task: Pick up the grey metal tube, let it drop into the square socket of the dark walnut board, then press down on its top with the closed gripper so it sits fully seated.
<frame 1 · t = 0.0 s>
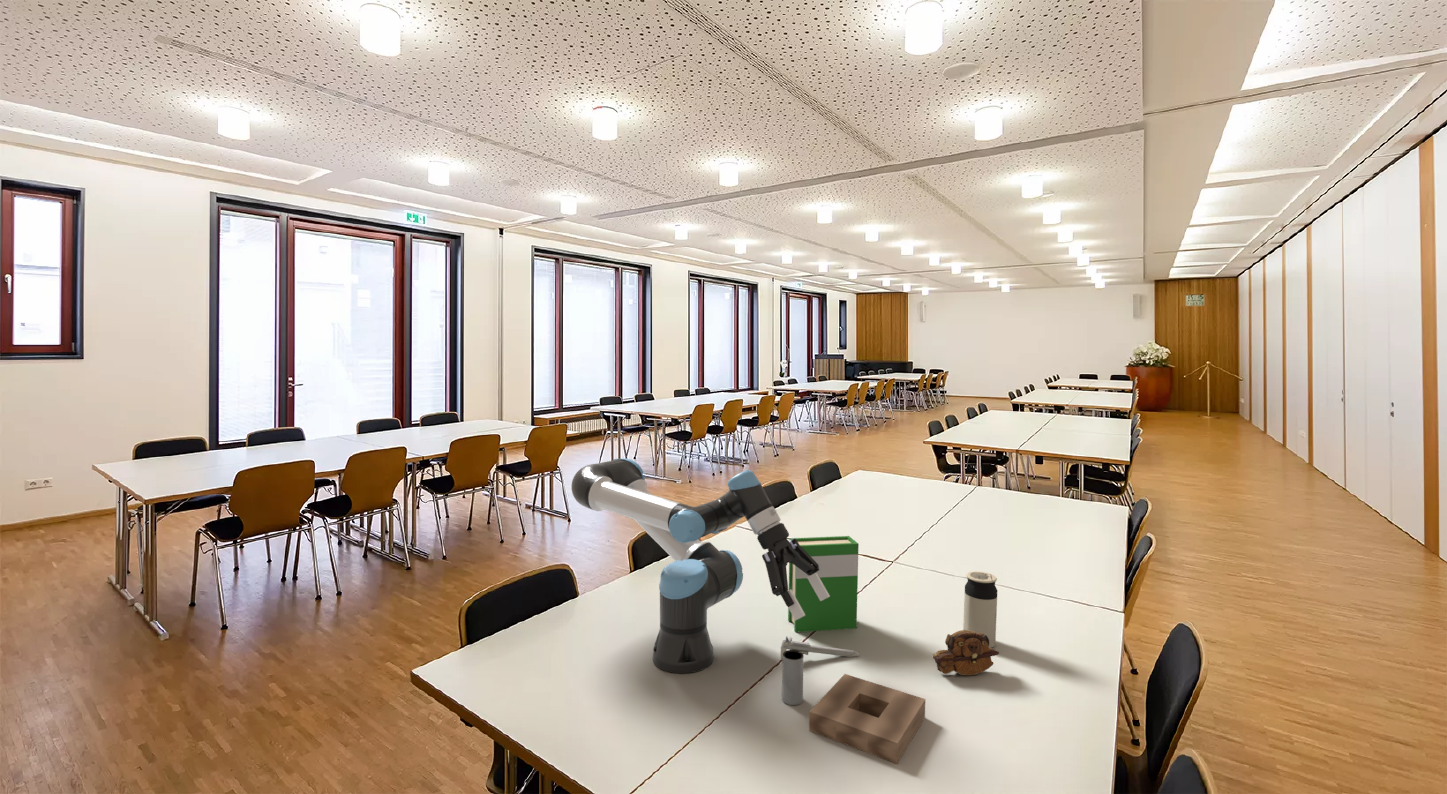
hand: (813, 608, 148), 15 cm above the table, tool tilted 35°, fingers open, 13 cm apart
socket board: (868, 723, 127), on the table
grey metal tube: (792, 700, 136), on the table
wooden carving: (966, 674, 148), on the table
caliper: (820, 659, 155), on the table
hardback book: (821, 625, 174), on the table
travel mug: (978, 643, 164), on the table
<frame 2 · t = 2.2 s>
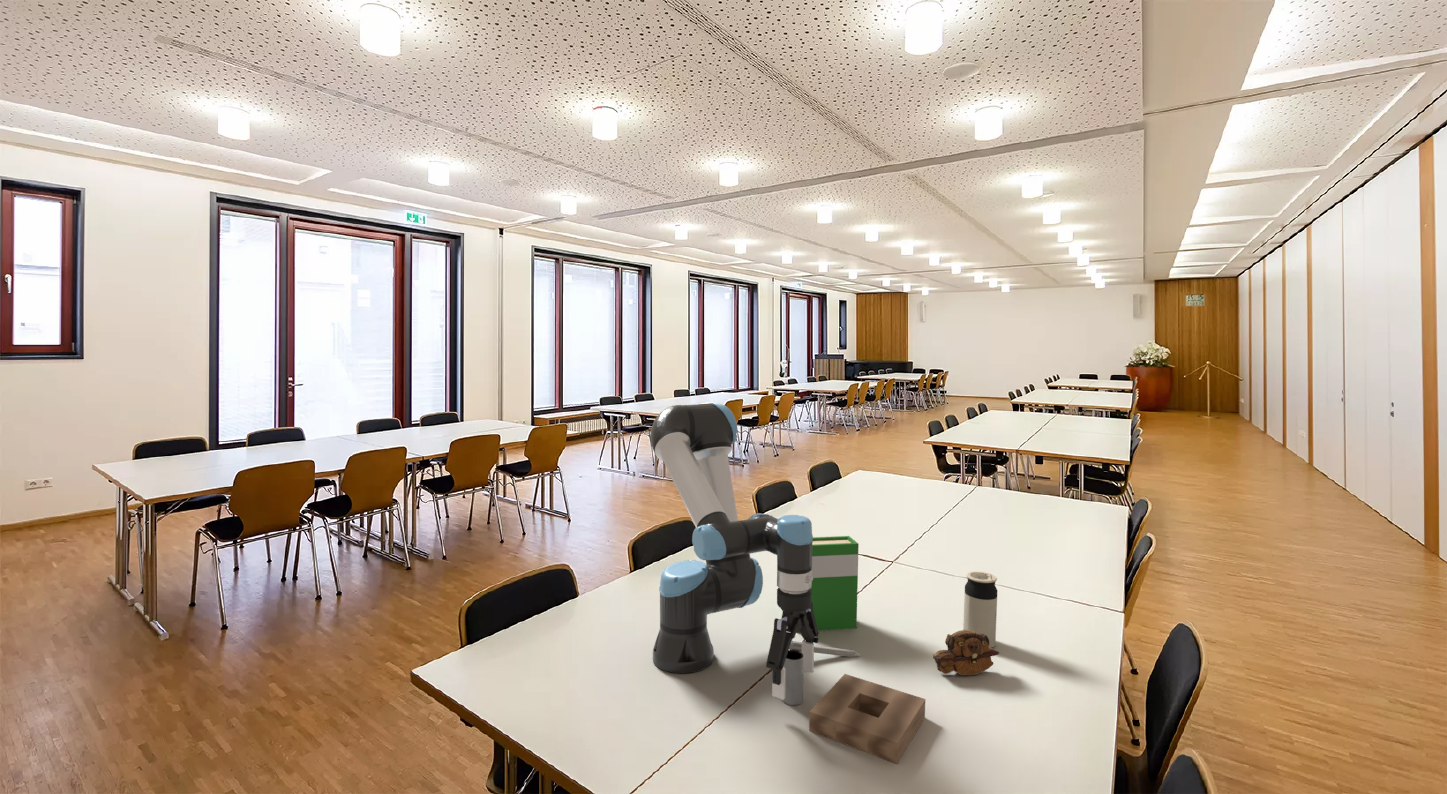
hand: (793, 683, 135), 4 cm above the table, tool pointing down, fingers open, 13 cm apart
nothing on the table moved.
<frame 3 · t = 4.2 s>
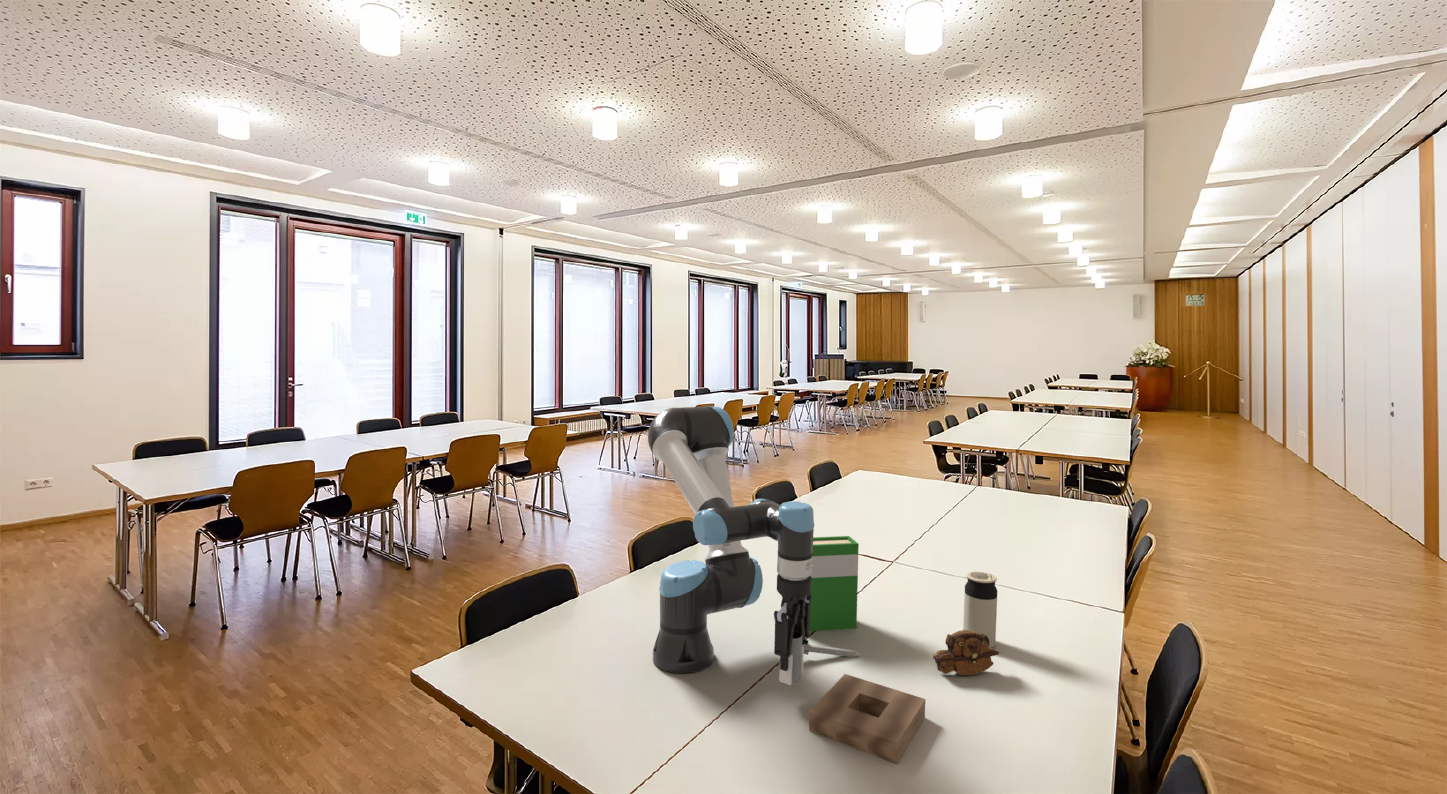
hand: (791, 677, 136), 5 cm above the table, tool pointing down, fingers closed on grey metal tube, 4 cm apart
grey metal tube: (790, 679, 136), point 4 cm above the table, touching gripper
everything else where it was.
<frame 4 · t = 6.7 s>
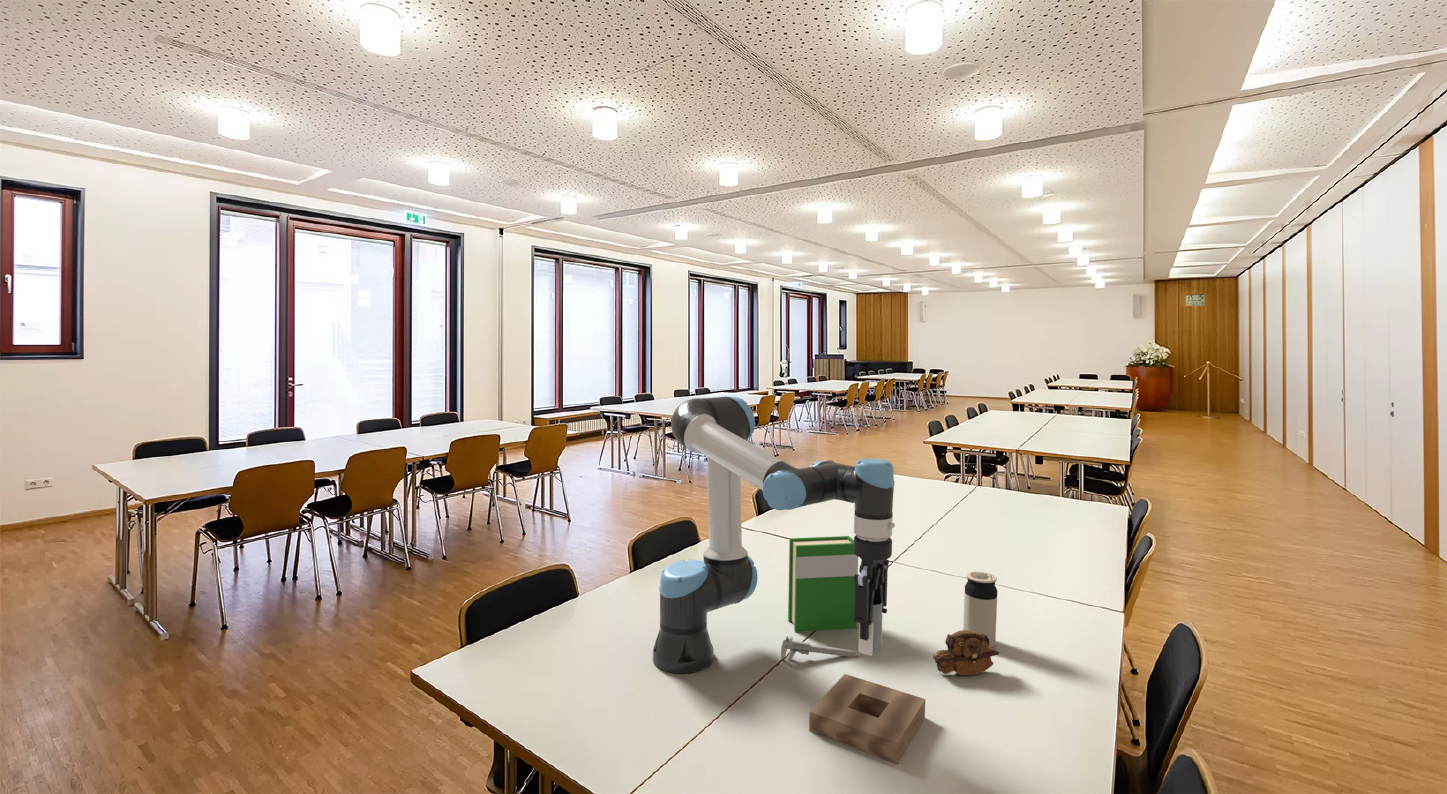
hand: (870, 648, 126), 16 cm above the table, tool pointing down, fingers closed on grey metal tube, 4 cm apart
grey metal tube: (869, 650, 126), point 16 cm above the table, touching gripper
everything else where it was.
when the fingers open (5 cm above the table, at t = 9.2 s): grey metal tube drops 5 cm, resting in socket board.
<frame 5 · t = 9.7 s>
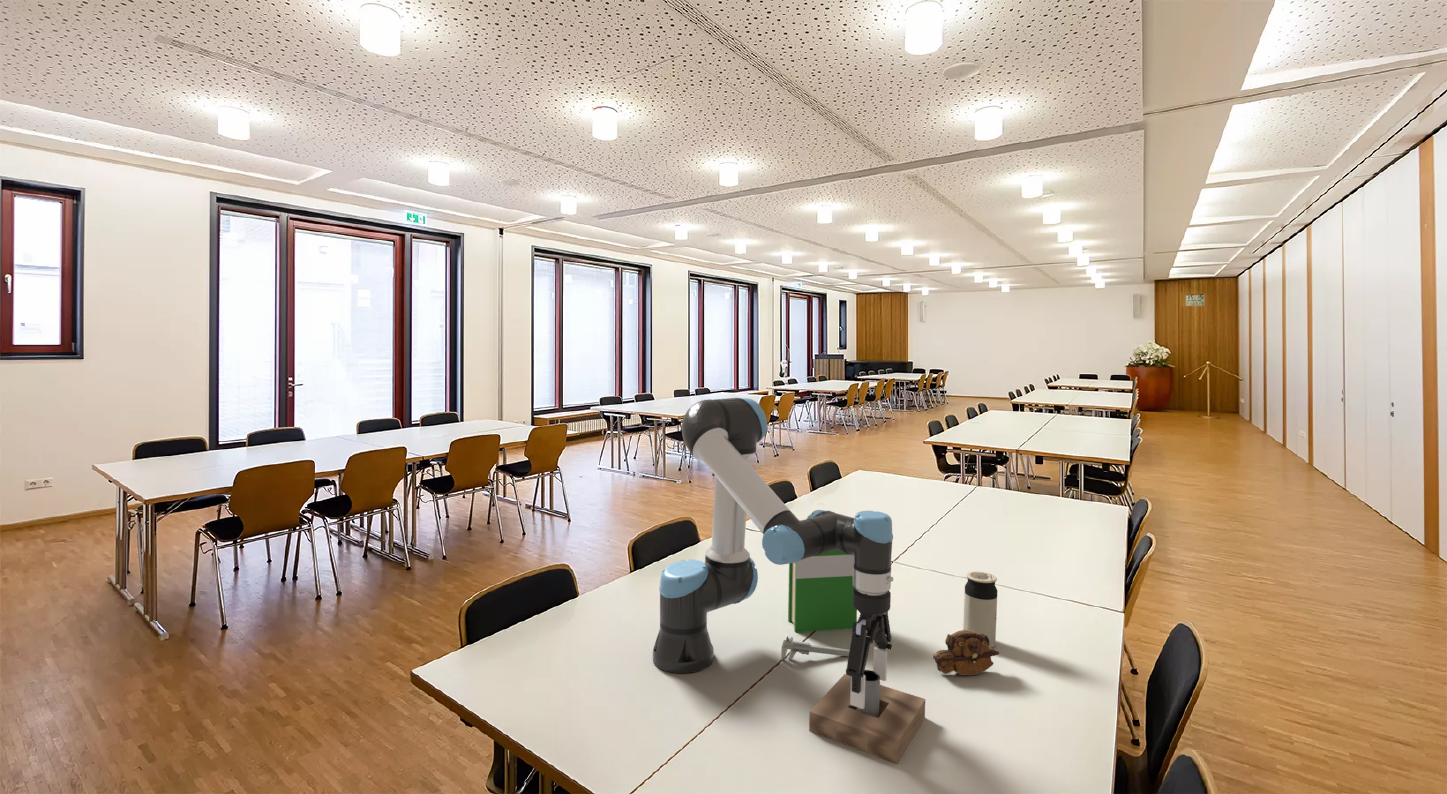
hand: (868, 691, 127), 7 cm above the table, tool pointing down, fingers open, 12 cm apart
grey metal tube: (867, 724, 127), resting in socket board
everything else where it was.
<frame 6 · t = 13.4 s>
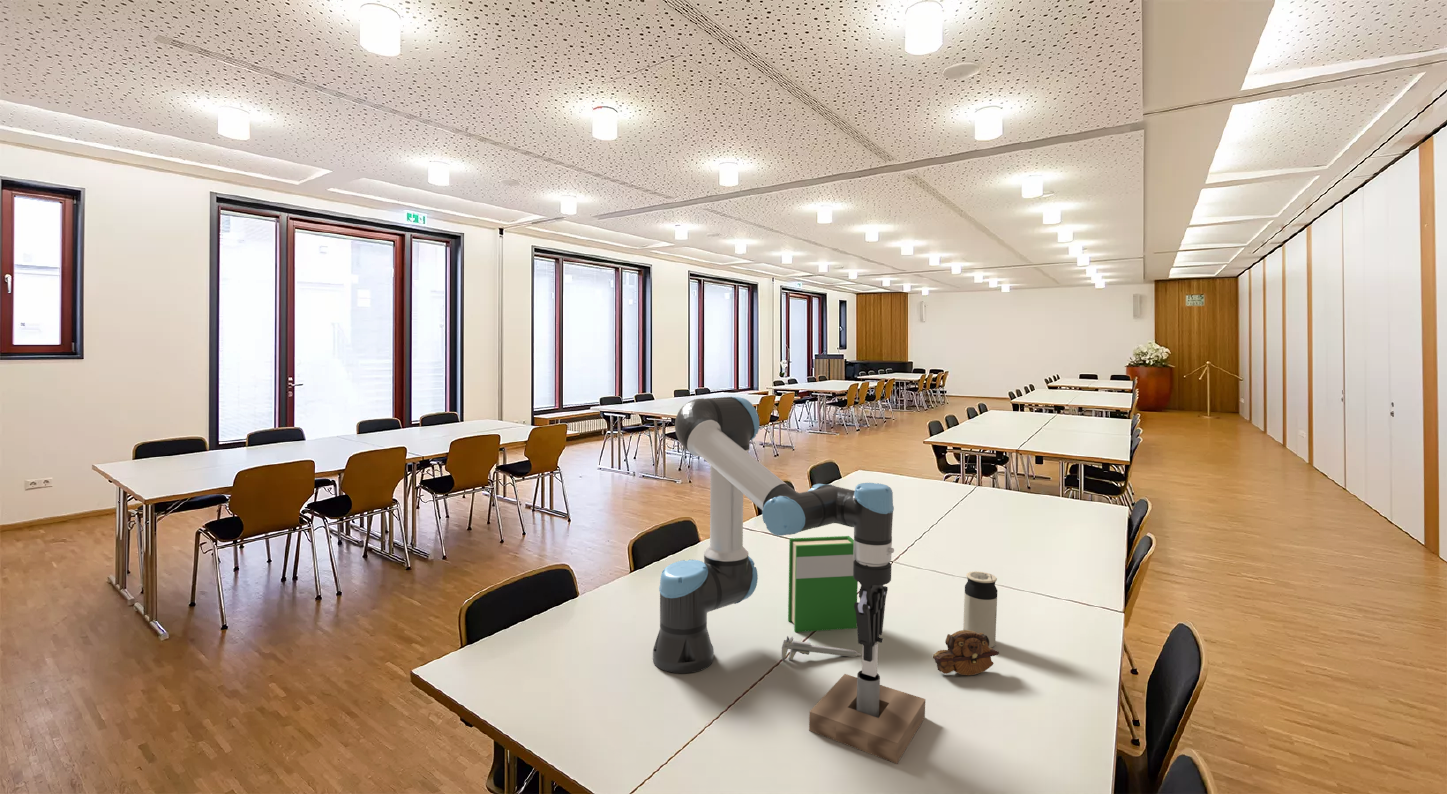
hand: (869, 673, 127), 11 cm above the table, tool pointing down, fingers closed
nothing on the table moved.
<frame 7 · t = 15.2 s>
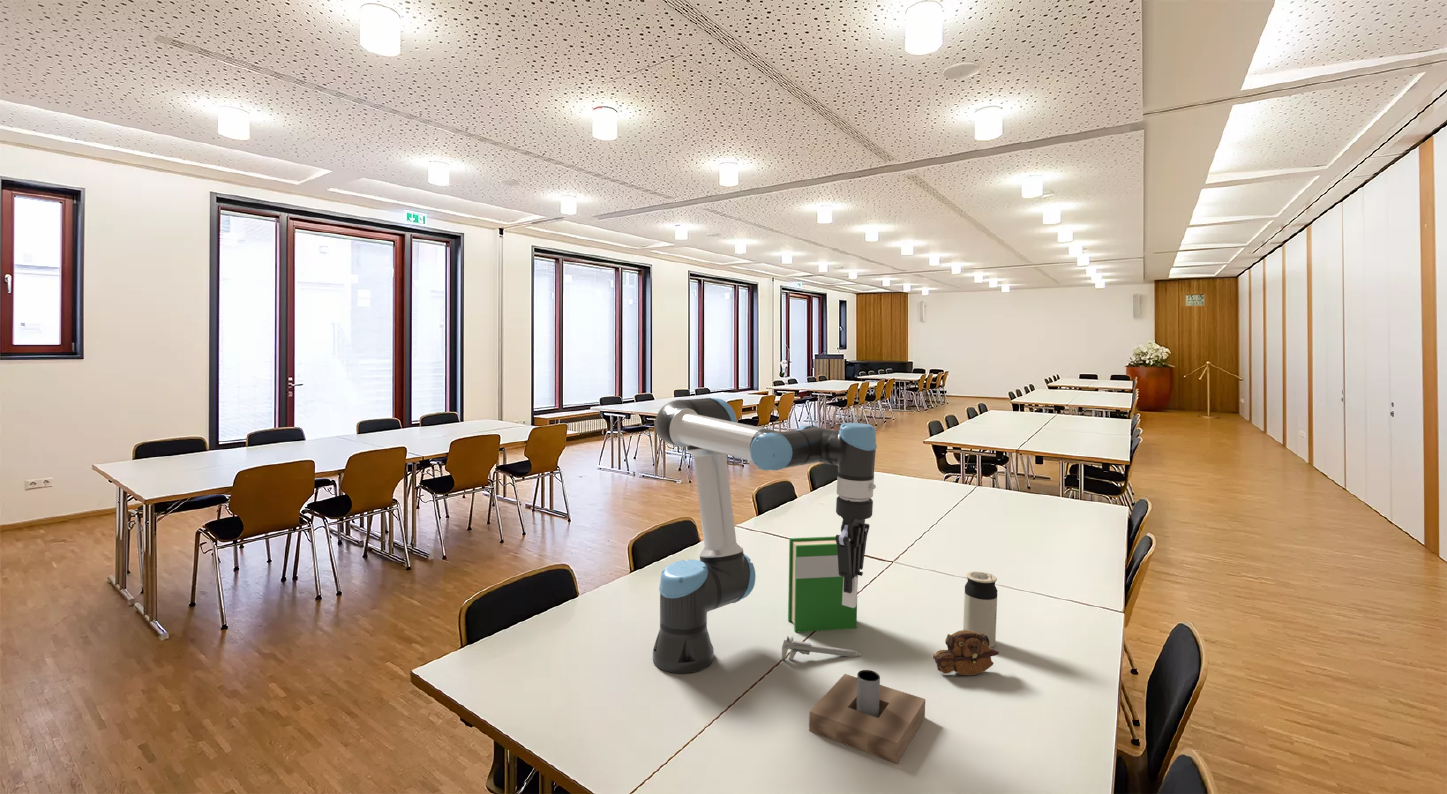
hand: (849, 605, 132), 22 cm above the table, tool pointing down, fingers closed
nothing on the table moved.
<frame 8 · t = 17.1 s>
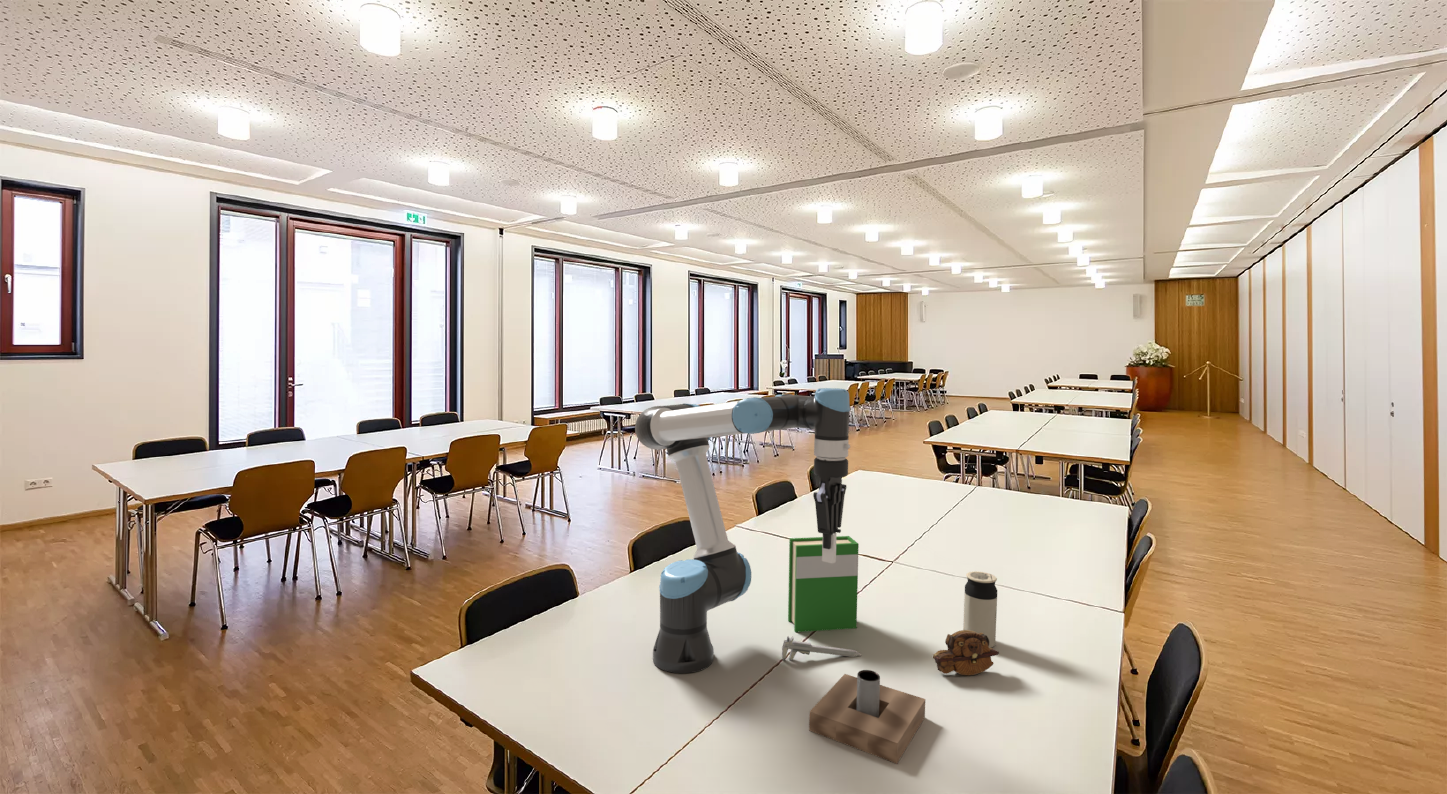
hand: (828, 561, 139), 29 cm above the table, tool pointing down, fingers closed
nothing on the table moved.
at the end: grey metal tube 0.2 cm off-centre on the socket board, point 0.0 cm above the socket board's base; grey metal tube tilted 0°; the gripper is holding nothing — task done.
